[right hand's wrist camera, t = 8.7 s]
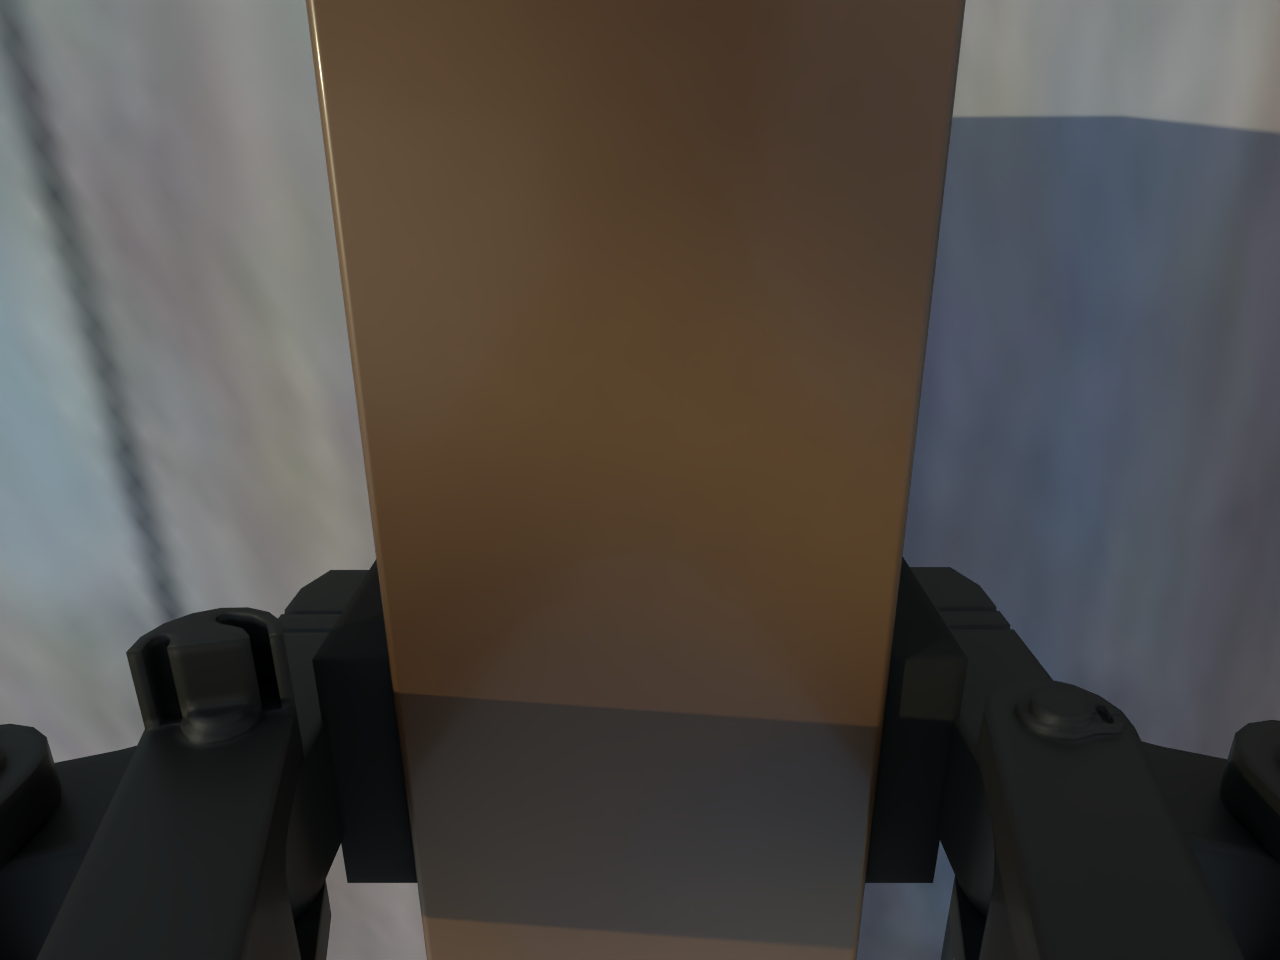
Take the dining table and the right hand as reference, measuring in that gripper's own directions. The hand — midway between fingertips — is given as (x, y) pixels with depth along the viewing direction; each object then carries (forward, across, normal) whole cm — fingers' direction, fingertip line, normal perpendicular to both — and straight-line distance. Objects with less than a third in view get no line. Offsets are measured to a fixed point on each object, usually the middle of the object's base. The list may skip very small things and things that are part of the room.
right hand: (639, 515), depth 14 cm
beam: (+1, 0, -34) cm, 34 cm away
